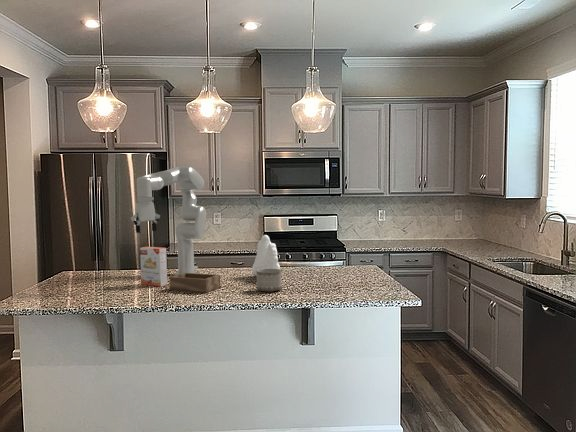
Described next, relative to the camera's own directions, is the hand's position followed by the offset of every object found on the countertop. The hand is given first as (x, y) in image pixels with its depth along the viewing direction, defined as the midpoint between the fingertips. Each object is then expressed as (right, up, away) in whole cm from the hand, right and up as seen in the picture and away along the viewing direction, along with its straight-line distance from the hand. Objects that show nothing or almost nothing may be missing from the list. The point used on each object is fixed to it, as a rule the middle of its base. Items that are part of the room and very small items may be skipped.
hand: (146, 231), depth 276 cm
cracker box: (+3, -30, +5) cm, 30 cm away
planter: (+67, -30, -13) cm, 74 cm away
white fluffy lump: (+64, -28, +20) cm, 73 cm away
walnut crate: (+28, -30, -7) cm, 42 cm away
